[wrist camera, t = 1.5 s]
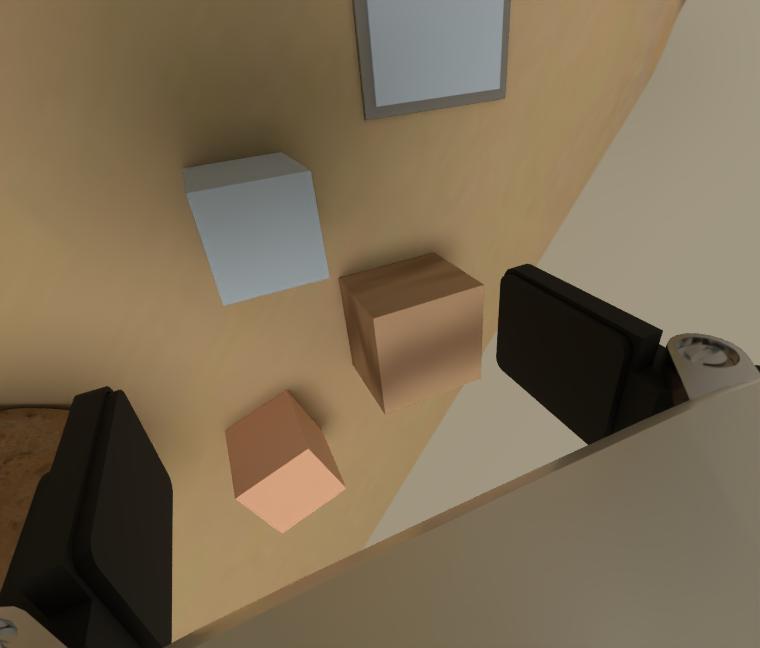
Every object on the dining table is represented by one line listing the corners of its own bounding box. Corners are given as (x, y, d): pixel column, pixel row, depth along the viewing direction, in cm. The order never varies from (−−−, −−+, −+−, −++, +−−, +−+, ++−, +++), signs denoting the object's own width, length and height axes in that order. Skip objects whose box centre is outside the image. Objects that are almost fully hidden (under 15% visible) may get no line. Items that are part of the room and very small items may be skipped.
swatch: (341, -111, 19) (344, -114, 18) (513, -109, 21) (519, -111, 21) (364, 120, 23) (367, 120, 23) (503, 98, 26) (507, 98, 26)
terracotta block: (225, 430, 29) (235, 498, 25) (286, 389, 30) (308, 448, 25) (265, 466, 32) (281, 533, 28) (320, 428, 33) (346, 488, 28)
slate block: (182, 168, 21) (185, 193, 16) (281, 151, 23) (310, 170, 18) (212, 260, 24) (223, 306, 19) (299, 240, 25) (329, 277, 20)
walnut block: (337, 277, 27) (373, 318, 23) (433, 251, 29) (483, 284, 25) (352, 363, 31) (385, 414, 26) (435, 335, 33) (480, 378, 28)
